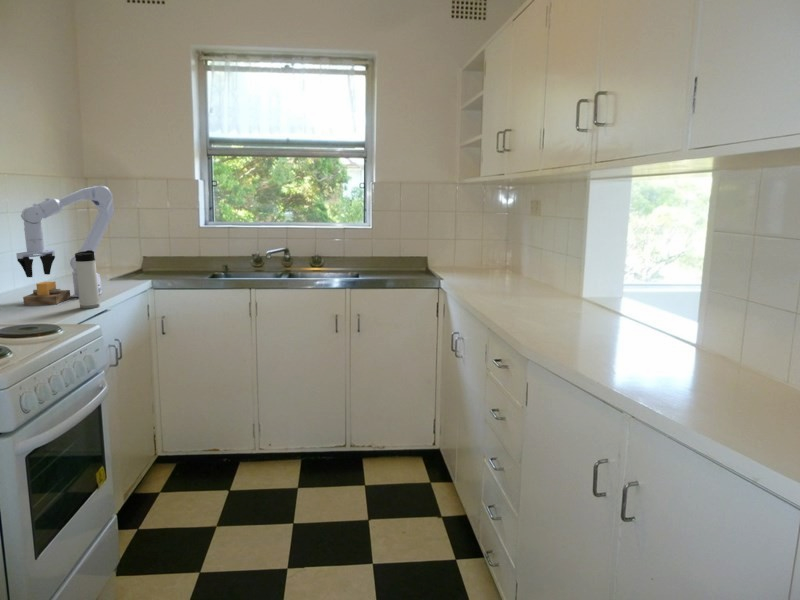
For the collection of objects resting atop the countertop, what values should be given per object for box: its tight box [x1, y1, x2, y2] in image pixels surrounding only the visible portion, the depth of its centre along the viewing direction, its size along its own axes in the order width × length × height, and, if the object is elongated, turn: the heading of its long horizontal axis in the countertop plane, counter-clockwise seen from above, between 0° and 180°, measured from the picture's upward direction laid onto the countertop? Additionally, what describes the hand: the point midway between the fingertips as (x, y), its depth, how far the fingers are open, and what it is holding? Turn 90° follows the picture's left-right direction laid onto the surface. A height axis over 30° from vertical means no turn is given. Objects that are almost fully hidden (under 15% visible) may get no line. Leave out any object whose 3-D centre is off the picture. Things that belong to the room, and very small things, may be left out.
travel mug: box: [74, 250, 101, 310], centre depth 216 cm, size 6×7×20 cm
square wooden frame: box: [22, 288, 72, 306], centre depth 229 cm, size 11×14×5 cm
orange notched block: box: [35, 281, 57, 295], centre depth 228 cm, size 4×5×6 cm
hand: (38, 275), depth 230 cm, fingers open, 7 cm apart
